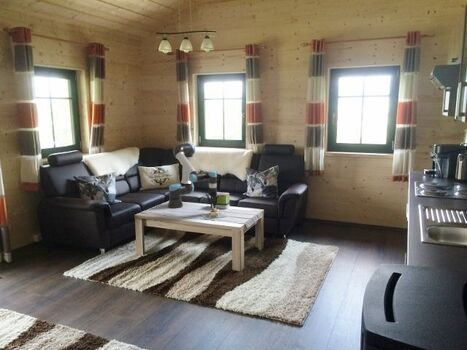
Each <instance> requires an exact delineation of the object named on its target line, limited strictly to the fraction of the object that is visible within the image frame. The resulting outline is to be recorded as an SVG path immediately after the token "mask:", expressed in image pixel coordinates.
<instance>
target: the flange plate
mask: <svg viewBox="0 0 467 350" xmlns="http://www.w3.org/2000/svg"><path fill="white" fill-rule="evenodd" d="M219 212H220V209H219V210H217V208H215V212H212V211H211V209H210V210H209V217H218V215H219Z"/></svg>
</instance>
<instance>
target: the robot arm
mask: <svg viewBox="0 0 467 350" xmlns="http://www.w3.org/2000/svg"><path fill="white" fill-rule="evenodd" d="M172 153H173V155H174V157H175V159H177V160H178V162H180V164H181V165H182V170H181V171H182V173H181V174H182V175H181V176H182V177H181V181H180V183H178V182H175V183H172V184H169V187H168V188H169V189H168V193H169V194H168V195H169V197H168V198H169V200H168V203H167V204H168V205H167V207H168V208H169V209H179V208H183V206H184V204H183V201H182V196H185V195H186V196H187V195H190V194H193V193H194V189H195V186H194V183H196V182H202V181H208V193H206V194H205V195H206V197H207V202H208V204H209V205H210V209H211V208H215V204H217V201H218V197H219V194H217V192H218V190H217V189H218V188H217V187H218V186H217V185H218V184H217V177H218V175H217V171H216V170H209V171H201V172H197V171H196V170H195V168H194V167H193V165H192V158H193V157H194V154H195V153H196V147H195V146H194V144H193V143H191V142H186V143H178V144H176V145H175V146H174V148H173V152H172ZM216 195H217V198H216V202H215V196H216Z"/></svg>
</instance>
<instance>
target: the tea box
mask: <svg viewBox="0 0 467 350" xmlns="http://www.w3.org/2000/svg"><path fill="white" fill-rule="evenodd" d="M217 194H219V197H218V201H217V204H215V208H216V209H221V210H222V209H224V210H227V209H228V208H230V193H229V192H220V191H217ZM216 198H217V195H216V196H215V202H216Z"/></svg>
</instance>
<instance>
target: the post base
mask: <svg viewBox="0 0 467 350" xmlns="http://www.w3.org/2000/svg"><path fill="white" fill-rule="evenodd" d="M210 210H211V211H212V212H215V208H211V207H210ZM200 216H201V217H202V216H203V217H204V218H203V217H202V218H203V219H204V220H215V219H220V218H226V217H227V216H226V215H225V214H223V212H221V211H219V215H218V217H209V213H202V214H200Z"/></svg>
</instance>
